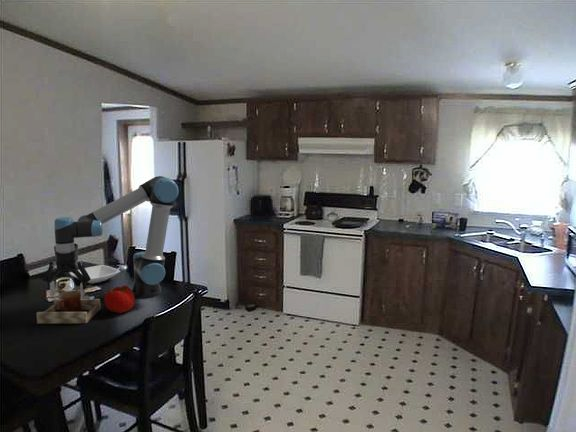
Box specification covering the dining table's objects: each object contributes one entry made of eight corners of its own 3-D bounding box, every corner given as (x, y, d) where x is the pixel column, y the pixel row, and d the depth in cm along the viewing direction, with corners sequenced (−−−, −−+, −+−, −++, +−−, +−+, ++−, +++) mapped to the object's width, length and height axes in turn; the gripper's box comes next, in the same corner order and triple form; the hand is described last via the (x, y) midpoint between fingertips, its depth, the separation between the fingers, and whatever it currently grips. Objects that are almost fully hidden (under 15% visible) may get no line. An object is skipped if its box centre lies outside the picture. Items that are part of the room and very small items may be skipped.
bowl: (102, 272, 253) (102, 263, 252) (124, 280, 240) (123, 271, 239) (66, 281, 235) (65, 272, 234) (87, 290, 222) (86, 280, 221)
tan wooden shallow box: (100, 308, 199) (100, 299, 198) (86, 323, 182) (85, 312, 182) (55, 308, 197) (54, 299, 196) (37, 323, 181) (36, 313, 180)
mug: (71, 309, 197) (70, 289, 195) (87, 311, 195) (85, 291, 193) (52, 320, 185) (50, 298, 183) (69, 322, 183) (67, 300, 181)
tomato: (122, 318, 189) (121, 294, 187) (98, 313, 193) (97, 289, 191) (141, 307, 201) (140, 285, 199) (119, 303, 206) (117, 281, 204)
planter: (83, 273, 250) (81, 245, 247) (60, 278, 241) (58, 249, 238) (75, 268, 259) (73, 242, 256) (53, 273, 250) (50, 245, 246)
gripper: (96, 249, 189) (98, 293, 192) (41, 248, 187) (44, 292, 191) (90, 253, 182) (92, 298, 185) (32, 252, 180) (35, 298, 183)
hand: (67, 295), depth 188 cm, fingers open, 13 cm apart
